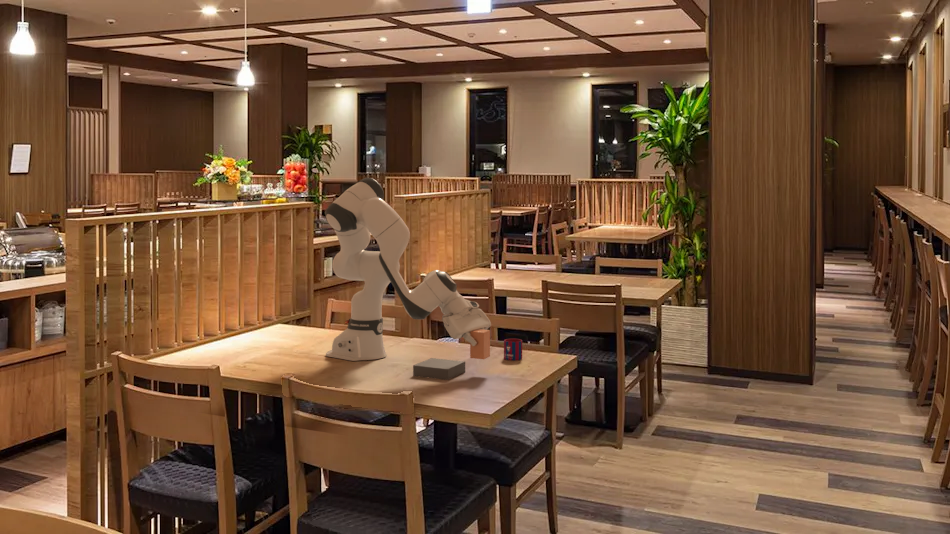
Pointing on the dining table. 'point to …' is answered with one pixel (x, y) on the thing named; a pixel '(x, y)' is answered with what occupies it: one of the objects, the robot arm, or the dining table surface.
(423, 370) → the grey flat block
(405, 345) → the dining table surface
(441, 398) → the dining table surface
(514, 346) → the mug
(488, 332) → the terracotta column
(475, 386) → the dining table surface
